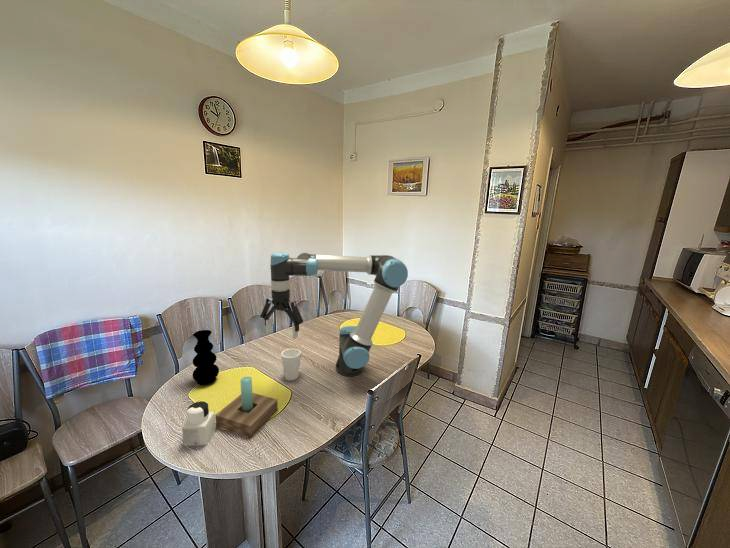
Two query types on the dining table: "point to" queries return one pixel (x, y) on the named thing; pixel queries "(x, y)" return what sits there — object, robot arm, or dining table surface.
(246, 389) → the peg
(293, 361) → the foam cup
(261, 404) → the block
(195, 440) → the container
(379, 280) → the robot arm
